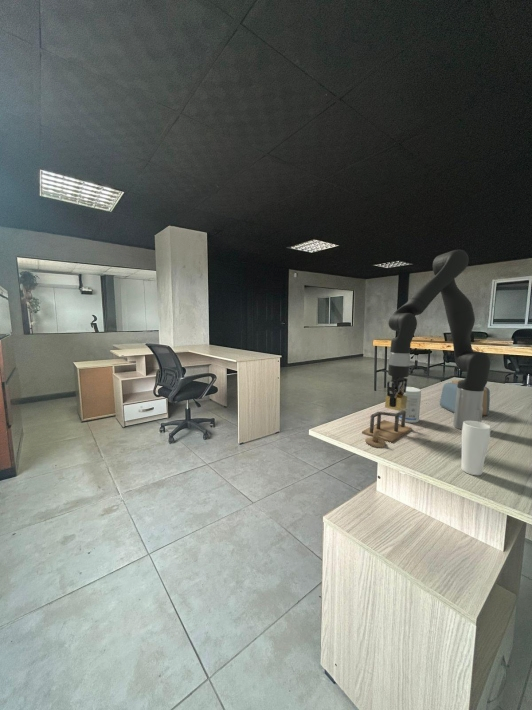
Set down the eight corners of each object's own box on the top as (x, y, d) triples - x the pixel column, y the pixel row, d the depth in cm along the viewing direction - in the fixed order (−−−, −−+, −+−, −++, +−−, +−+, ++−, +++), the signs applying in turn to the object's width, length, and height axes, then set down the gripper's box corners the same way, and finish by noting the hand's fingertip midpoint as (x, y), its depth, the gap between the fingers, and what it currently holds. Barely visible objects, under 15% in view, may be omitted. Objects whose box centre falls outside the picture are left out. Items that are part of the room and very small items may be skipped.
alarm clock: (491, 416, 137) (494, 384, 136) (457, 416, 138) (460, 384, 136) (467, 406, 154) (470, 377, 152) (437, 405, 154) (440, 377, 152)
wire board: (411, 429, 119) (413, 411, 118) (391, 442, 106) (393, 422, 105) (383, 421, 128) (385, 404, 127) (361, 433, 114) (363, 414, 113)
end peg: (388, 443, 105) (389, 431, 105) (380, 449, 100) (381, 436, 100) (370, 437, 110) (371, 425, 110) (361, 442, 105) (362, 430, 105)
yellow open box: (406, 407, 114) (407, 395, 114) (400, 411, 110) (401, 398, 110) (391, 404, 119) (392, 392, 118) (384, 407, 114) (385, 395, 114)
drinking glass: (480, 468, 88) (485, 422, 87) (489, 479, 82) (495, 430, 80) (455, 464, 91) (459, 419, 89) (461, 475, 84) (467, 426, 82)
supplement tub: (401, 414, 138) (404, 385, 136) (422, 420, 131) (425, 389, 129) (392, 419, 132) (394, 388, 130) (413, 425, 125) (415, 392, 123)
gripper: (401, 367, 104) (398, 411, 107) (415, 363, 114) (412, 403, 116) (381, 364, 110) (378, 406, 112) (396, 361, 120) (393, 399, 122)
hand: (395, 404), depth 114 cm, fingers closed on yellow open box, 6 cm apart
